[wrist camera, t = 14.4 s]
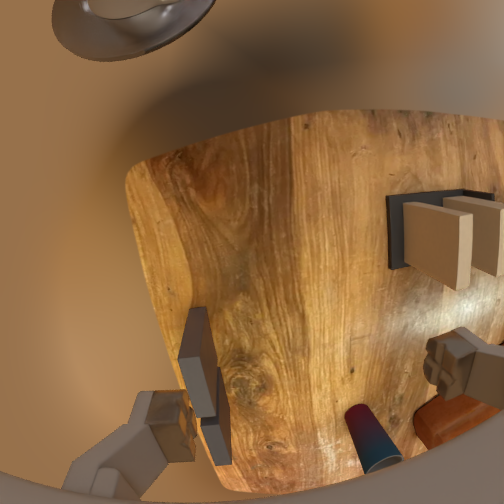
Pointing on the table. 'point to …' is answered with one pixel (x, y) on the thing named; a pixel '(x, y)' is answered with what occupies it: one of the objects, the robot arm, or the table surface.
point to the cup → (371, 440)
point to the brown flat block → (439, 242)
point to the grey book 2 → (219, 427)
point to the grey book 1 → (199, 363)
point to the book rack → (477, 203)
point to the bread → (450, 418)
